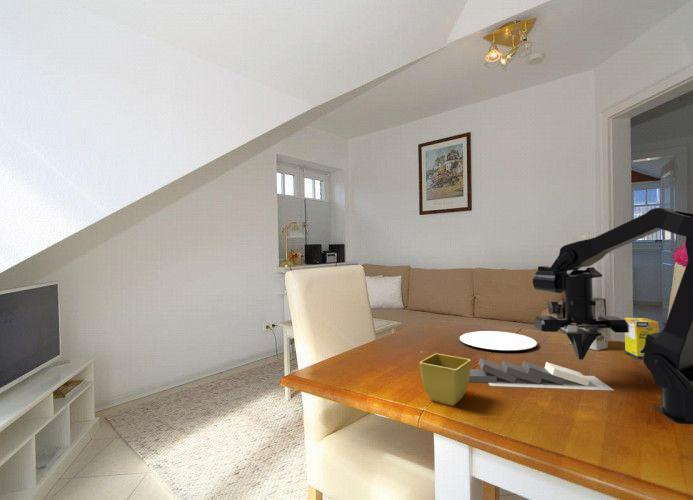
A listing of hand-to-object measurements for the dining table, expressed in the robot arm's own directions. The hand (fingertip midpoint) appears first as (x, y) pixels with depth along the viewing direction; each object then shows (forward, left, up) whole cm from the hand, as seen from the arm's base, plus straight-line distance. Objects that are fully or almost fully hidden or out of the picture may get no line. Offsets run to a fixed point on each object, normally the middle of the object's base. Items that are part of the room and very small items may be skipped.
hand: (580, 359), depth 85 cm
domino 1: (0, +20, -5) cm, 20 cm away
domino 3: (0, +10, -5) cm, 11 cm away
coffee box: (+34, -17, -6) cm, 39 cm away
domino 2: (0, +16, -5) cm, 16 cm away
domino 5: (0, -1, -5) cm, 5 cm away
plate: (+36, +11, -7) cm, 38 cm away
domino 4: (0, +5, -5) cm, 7 cm away
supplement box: (+24, -27, -6) cm, 37 cm away
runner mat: (0, +9, -6) cm, 10 cm away
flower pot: (-13, +33, -6) cm, 36 cm away
